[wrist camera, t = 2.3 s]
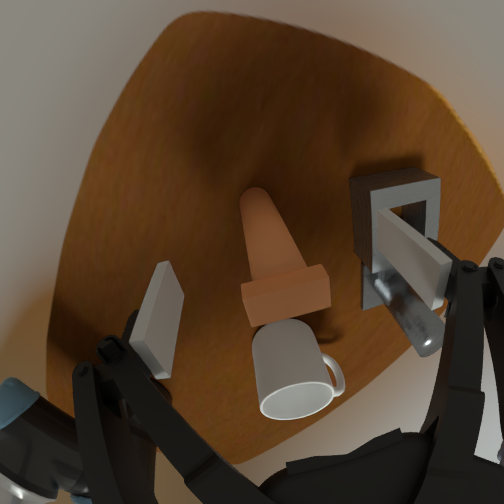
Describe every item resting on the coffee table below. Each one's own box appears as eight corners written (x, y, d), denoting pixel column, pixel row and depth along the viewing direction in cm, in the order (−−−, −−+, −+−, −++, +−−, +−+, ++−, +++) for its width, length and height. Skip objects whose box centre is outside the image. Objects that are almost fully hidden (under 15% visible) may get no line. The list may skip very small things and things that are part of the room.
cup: (265, 310, 32) (279, 379, 23) (345, 326, 35) (373, 383, 26) (242, 354, 36) (248, 418, 27) (316, 364, 38) (334, 419, 29)
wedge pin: (238, 221, 27) (254, 335, 13) (230, 192, 25) (238, 288, 12) (278, 211, 26) (331, 315, 13) (272, 182, 25) (328, 266, 12)
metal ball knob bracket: (355, 308, 34) (394, 378, 23) (348, 178, 25) (421, 225, 15) (408, 290, 33) (454, 348, 23) (414, 167, 25) (493, 203, 15)
